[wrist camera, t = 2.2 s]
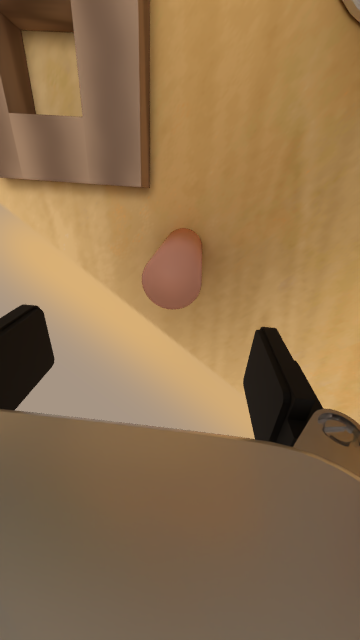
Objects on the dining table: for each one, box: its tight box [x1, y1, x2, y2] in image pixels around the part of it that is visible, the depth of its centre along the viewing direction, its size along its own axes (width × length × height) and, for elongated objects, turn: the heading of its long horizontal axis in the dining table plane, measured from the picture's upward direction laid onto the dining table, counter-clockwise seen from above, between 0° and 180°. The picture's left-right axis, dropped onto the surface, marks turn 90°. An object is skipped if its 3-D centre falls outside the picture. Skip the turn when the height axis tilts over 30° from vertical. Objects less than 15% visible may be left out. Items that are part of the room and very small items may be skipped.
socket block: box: [0, 0, 150, 188], centre depth 20 cm, size 16×16×4 cm
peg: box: [142, 228, 202, 309], centre depth 23 cm, size 4×4×12 cm
